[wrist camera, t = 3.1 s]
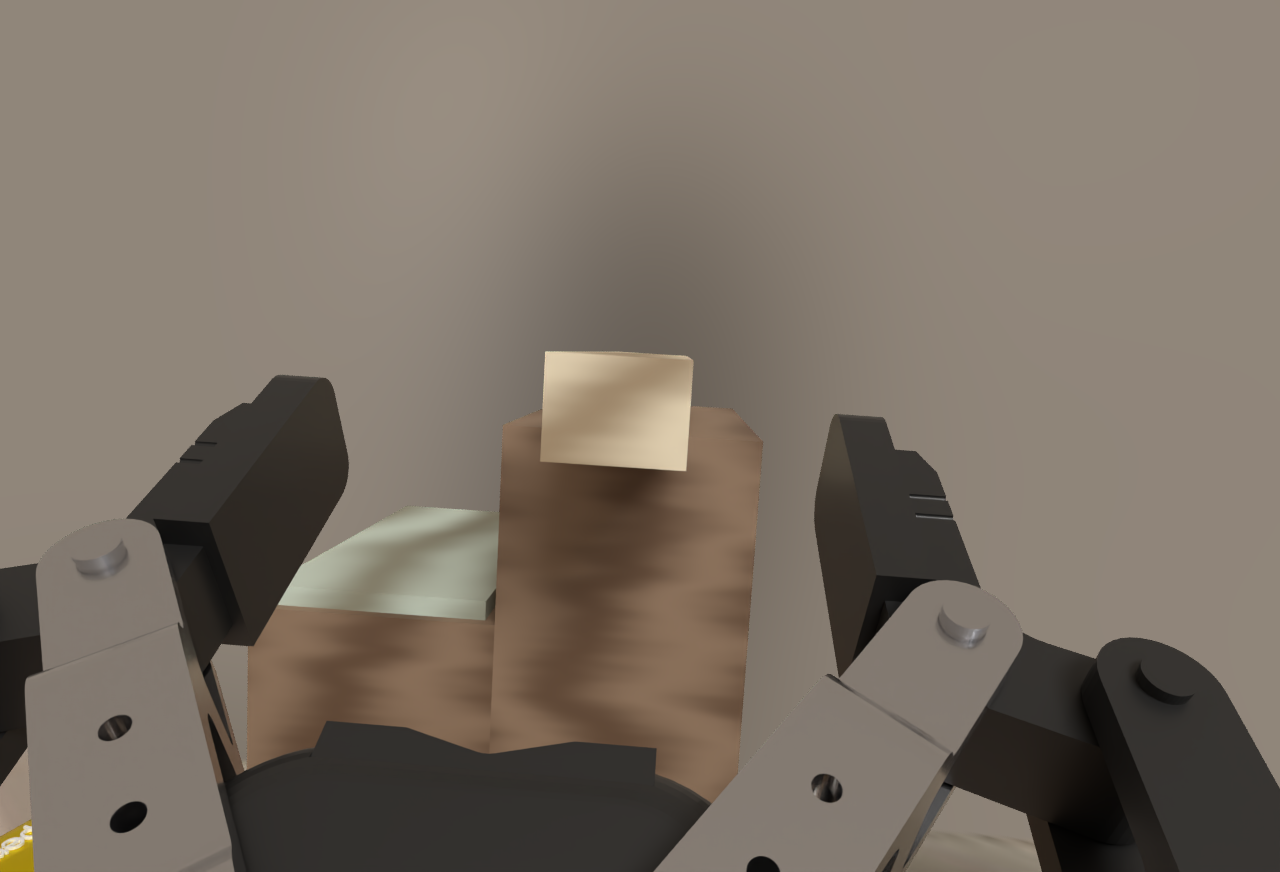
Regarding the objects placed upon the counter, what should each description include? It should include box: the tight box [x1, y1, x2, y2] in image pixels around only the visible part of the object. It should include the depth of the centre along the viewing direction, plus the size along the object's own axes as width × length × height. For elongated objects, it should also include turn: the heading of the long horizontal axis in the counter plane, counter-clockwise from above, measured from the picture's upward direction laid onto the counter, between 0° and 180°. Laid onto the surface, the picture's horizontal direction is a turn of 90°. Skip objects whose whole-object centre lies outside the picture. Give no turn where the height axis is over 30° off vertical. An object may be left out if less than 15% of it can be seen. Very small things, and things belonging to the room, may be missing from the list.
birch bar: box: [540, 352, 693, 471], centre depth 35 cm, size 4×26×3 cm, turn 177°
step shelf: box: [247, 406, 763, 803], centre depth 42 cm, size 20×18×32 cm
